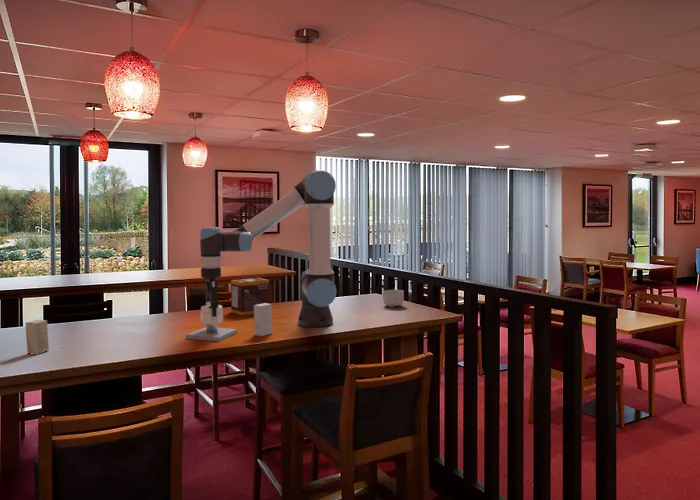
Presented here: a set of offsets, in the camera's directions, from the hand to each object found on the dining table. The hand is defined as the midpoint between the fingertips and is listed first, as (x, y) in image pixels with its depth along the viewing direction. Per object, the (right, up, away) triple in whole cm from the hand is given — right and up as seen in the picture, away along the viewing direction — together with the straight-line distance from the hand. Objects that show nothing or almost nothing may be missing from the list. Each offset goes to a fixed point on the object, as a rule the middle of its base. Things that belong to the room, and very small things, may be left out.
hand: (211, 321), depth 203 cm
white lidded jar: (0, 0, 0) cm, 0 cm away
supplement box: (+6, -2, +48) cm, 48 cm away
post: (0, -4, 0) cm, 4 cm away
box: (-53, -8, -24) cm, 59 cm away
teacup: (+77, -1, +64) cm, 100 cm away
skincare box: (+20, -6, +3) cm, 21 cm away
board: (0, -6, 0) cm, 6 cm away
